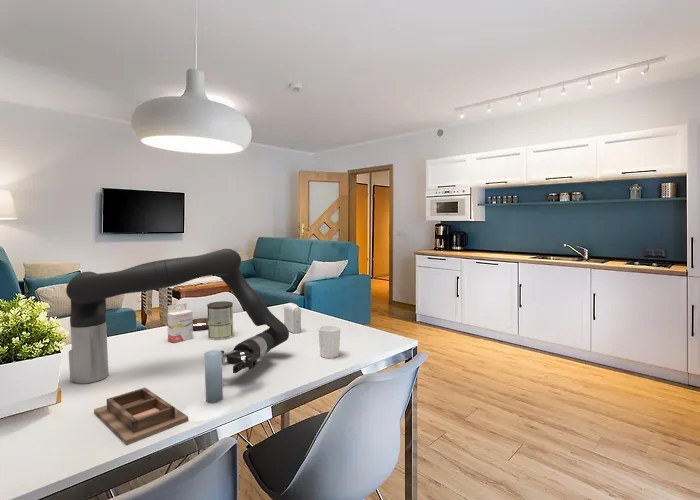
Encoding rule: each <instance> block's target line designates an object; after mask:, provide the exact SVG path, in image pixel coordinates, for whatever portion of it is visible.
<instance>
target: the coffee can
mask: <svg viewBox="0 0 700 500" xmlns="http://www.w3.org/2000/svg"><path fill="white" fill-rule="evenodd" d="M233 305H234V303H233V302H232V301H227V300H226V301H225V300H223V301H213V302H209V303H207V305H206V306H207V318H208V329H207V330H208V336H207V337H208V339H209V340H213V341H220V340H221V341H222V340H227V339H231V338H232V337H234V314H233V313H234V310H233V309H234V307H233Z"/></svg>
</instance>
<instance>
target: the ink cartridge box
mask: <svg viewBox="0 0 700 500" xmlns="http://www.w3.org/2000/svg"><path fill="white" fill-rule="evenodd" d="M177 307H178V308H177ZM187 307H188V306H187V302H184V303H177V304H171V305H170V304H169V305H168V306H167V313H166V316H167V319H166V320H167V341H168V342H170V343H172V344H175V343H179V342H180V341H181V342H183V341H184V340H185V341H188V340H193V339H194V336H193V335H194V332H193V331H194V330H193V310H188V309H187ZM185 341H184V342H185Z"/></svg>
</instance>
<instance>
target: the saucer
mask: <svg viewBox="0 0 700 500" xmlns="http://www.w3.org/2000/svg"><path fill="white" fill-rule="evenodd" d="M197 323H206V325H202V326H193V331H202V329H204V330H208V317H203V318H194V319H193V324H197Z"/></svg>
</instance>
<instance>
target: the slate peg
mask: <svg viewBox="0 0 700 500" xmlns="http://www.w3.org/2000/svg"><path fill="white" fill-rule="evenodd" d="M221 351H222V350H218V349H217V350H216V349H215V350H209V351H205V352H204V355H203V356H204V380H205V382H204V385H205V401H206V402H207V403H209V404H212V403H213V404H215V403H219V402H221V401H222V400H223V399H224V395H223V391H224V390H223V389H224V388H223V365H222V352H221Z"/></svg>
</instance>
